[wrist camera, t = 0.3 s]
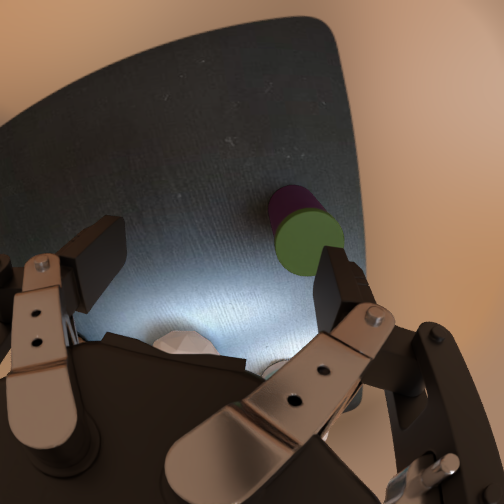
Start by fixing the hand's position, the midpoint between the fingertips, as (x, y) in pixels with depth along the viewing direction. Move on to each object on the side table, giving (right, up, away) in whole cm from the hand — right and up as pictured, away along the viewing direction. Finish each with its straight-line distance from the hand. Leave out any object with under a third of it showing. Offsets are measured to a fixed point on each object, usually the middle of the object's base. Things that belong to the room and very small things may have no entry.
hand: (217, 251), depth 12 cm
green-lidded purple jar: (+5, +4, +18) cm, 19 cm away
